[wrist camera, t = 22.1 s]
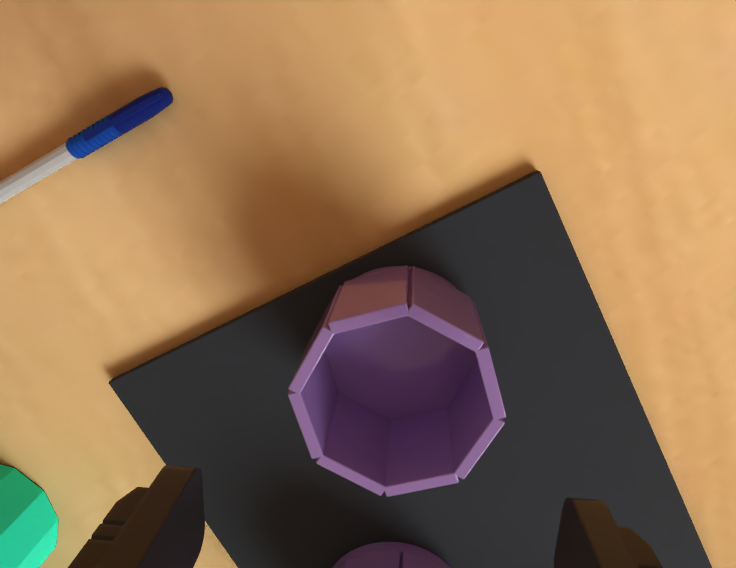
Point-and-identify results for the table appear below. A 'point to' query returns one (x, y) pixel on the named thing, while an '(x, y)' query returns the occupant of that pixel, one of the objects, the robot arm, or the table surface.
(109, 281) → the table surface
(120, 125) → the ballpoint pen
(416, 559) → the purple octagonal cup
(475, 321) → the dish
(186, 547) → the robot arm
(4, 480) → the candle
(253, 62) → the table surface
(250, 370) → the mat
